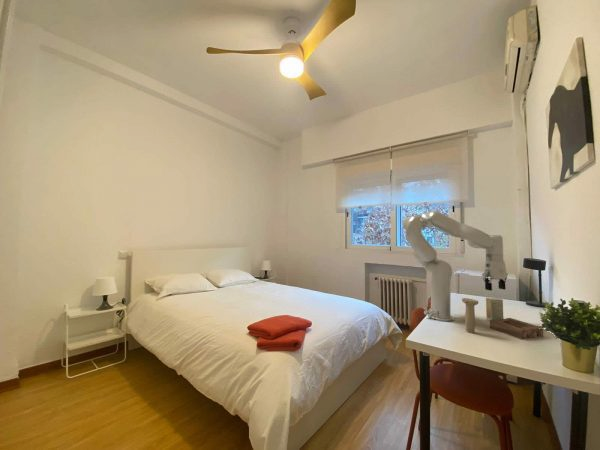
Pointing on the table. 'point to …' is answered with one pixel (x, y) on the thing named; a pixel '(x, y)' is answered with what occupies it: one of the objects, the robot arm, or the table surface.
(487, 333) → the table surface
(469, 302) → the handle
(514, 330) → the jig
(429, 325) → the table surface
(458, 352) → the table surface
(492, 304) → the skincare box
